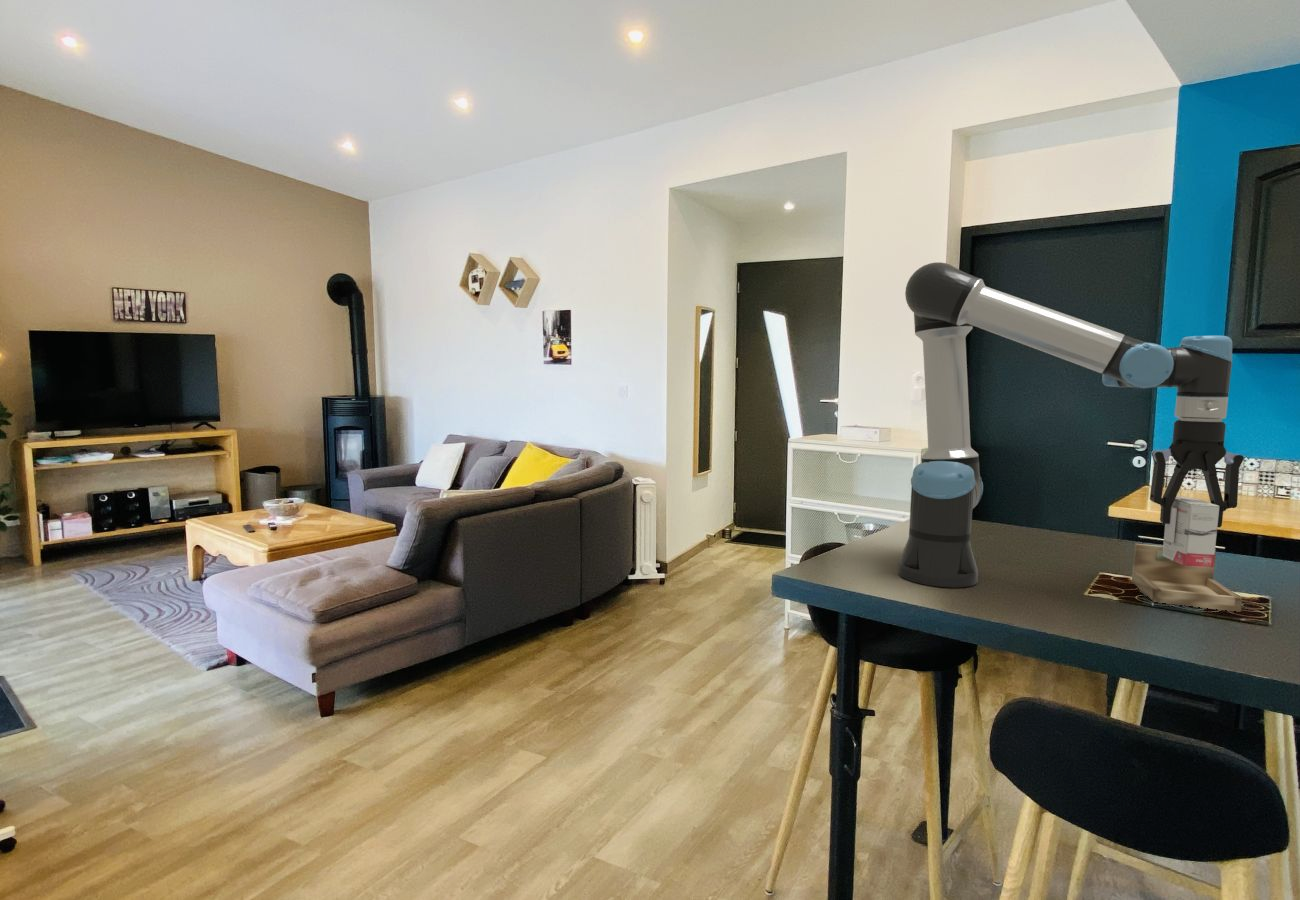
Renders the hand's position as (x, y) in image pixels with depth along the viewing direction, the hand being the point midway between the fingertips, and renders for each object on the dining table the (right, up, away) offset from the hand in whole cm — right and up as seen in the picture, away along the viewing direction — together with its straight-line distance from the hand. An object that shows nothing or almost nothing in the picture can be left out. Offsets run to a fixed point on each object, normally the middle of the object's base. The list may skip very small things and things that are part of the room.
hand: (1188, 542), depth 129 cm
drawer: (0, -11, +1) cm, 11 cm away
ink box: (0, -4, 0) cm, 4 cm away
